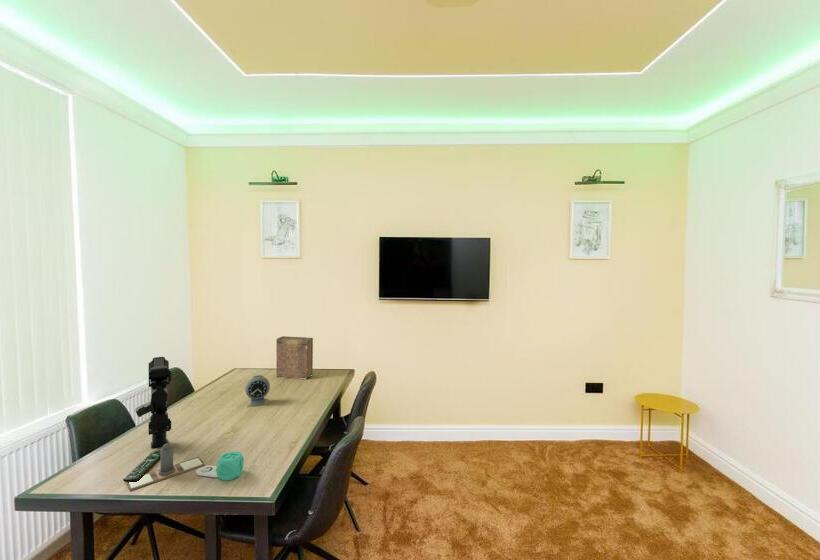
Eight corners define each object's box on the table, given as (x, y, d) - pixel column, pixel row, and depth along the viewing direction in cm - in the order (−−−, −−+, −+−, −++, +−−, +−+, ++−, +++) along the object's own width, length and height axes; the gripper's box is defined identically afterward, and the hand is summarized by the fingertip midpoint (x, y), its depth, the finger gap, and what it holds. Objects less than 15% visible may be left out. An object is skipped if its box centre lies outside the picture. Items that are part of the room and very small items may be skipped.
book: (312, 376, 290) (313, 337, 289) (307, 379, 281) (308, 340, 280) (282, 374, 294) (282, 336, 293) (276, 377, 285) (276, 338, 284)
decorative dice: (236, 480, 150) (236, 461, 150) (216, 481, 150) (216, 461, 149) (243, 469, 158) (243, 451, 158) (224, 470, 158) (224, 451, 157)
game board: (125, 481, 148) (125, 480, 148) (198, 457, 167) (198, 456, 167) (130, 491, 142) (130, 490, 142) (205, 465, 161) (205, 464, 161)
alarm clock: (245, 407, 225) (245, 378, 225) (245, 402, 234) (245, 374, 233) (270, 404, 231) (270, 376, 230) (269, 399, 240) (269, 371, 239)
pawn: (164, 468, 157) (164, 440, 157) (177, 468, 157) (177, 440, 157) (155, 475, 151) (155, 446, 151) (169, 475, 152) (169, 446, 151)
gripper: (137, 393, 169) (137, 427, 169) (135, 406, 153) (136, 443, 154) (166, 388, 175) (167, 421, 176) (168, 401, 160) (168, 437, 160)
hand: (159, 430), depth 166 cm, fingers open, 9 cm apart
